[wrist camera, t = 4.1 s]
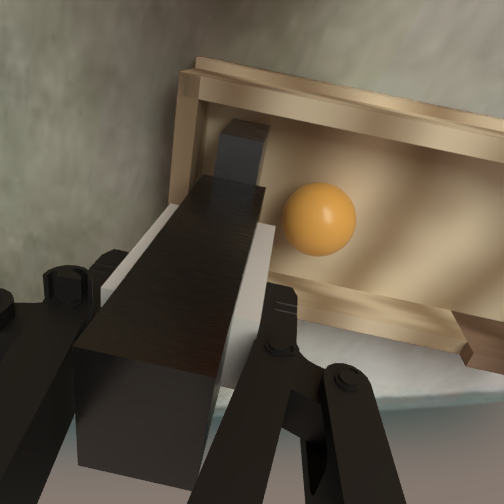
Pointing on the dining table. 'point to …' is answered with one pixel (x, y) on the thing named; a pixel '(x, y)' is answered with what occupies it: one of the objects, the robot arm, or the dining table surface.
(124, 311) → the block
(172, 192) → the tray
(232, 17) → the dining table surface
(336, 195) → the ball
